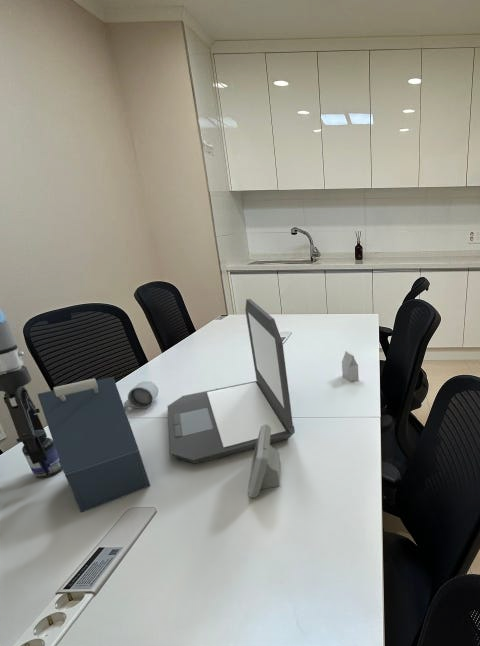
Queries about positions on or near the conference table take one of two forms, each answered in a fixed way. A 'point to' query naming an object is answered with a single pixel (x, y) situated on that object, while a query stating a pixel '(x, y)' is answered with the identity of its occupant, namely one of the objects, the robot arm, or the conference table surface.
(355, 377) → the grey house-shaped block
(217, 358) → the conference table surface
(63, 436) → the lid
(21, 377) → the robot arm
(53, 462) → the pill bottle
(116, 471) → the dark blue box
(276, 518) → the conference table surface
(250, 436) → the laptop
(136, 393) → the ceramic mug
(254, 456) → the digital clock
